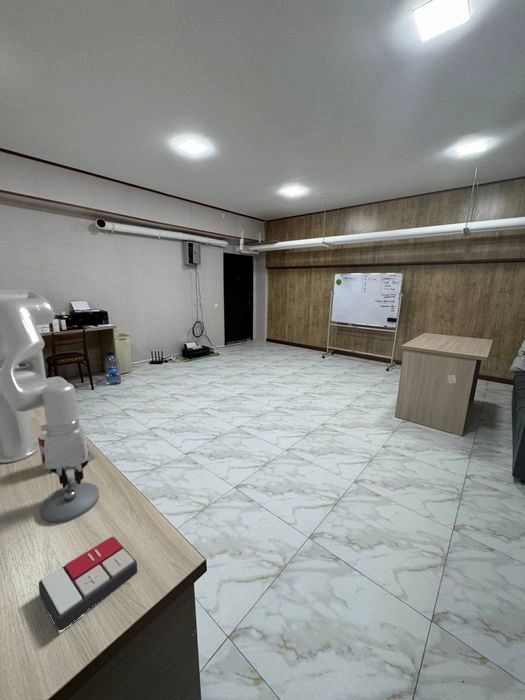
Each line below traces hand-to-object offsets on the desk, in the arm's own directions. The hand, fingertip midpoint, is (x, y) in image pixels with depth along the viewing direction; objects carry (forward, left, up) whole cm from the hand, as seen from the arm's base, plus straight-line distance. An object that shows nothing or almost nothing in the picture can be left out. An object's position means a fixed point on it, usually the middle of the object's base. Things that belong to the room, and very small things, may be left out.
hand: (72, 482), depth 87 cm
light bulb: (+2, 0, -2) cm, 2 cm away
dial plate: (+4, 0, -4) cm, 6 cm away
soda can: (-18, -8, -4) cm, 20 cm away
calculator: (+32, +9, -4) cm, 34 cm away
